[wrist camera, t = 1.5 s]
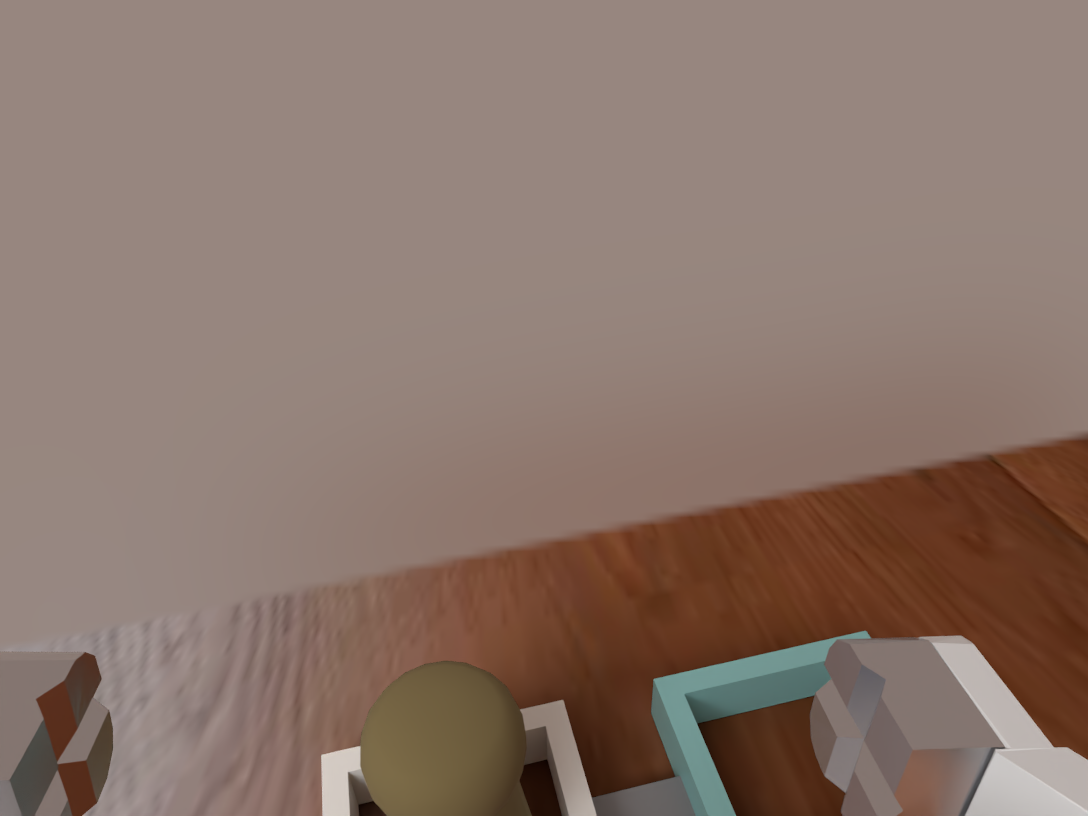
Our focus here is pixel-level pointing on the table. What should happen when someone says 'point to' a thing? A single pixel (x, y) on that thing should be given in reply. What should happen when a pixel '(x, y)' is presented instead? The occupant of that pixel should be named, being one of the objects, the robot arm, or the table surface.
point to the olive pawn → (445, 745)
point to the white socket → (637, 812)
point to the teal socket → (729, 708)
